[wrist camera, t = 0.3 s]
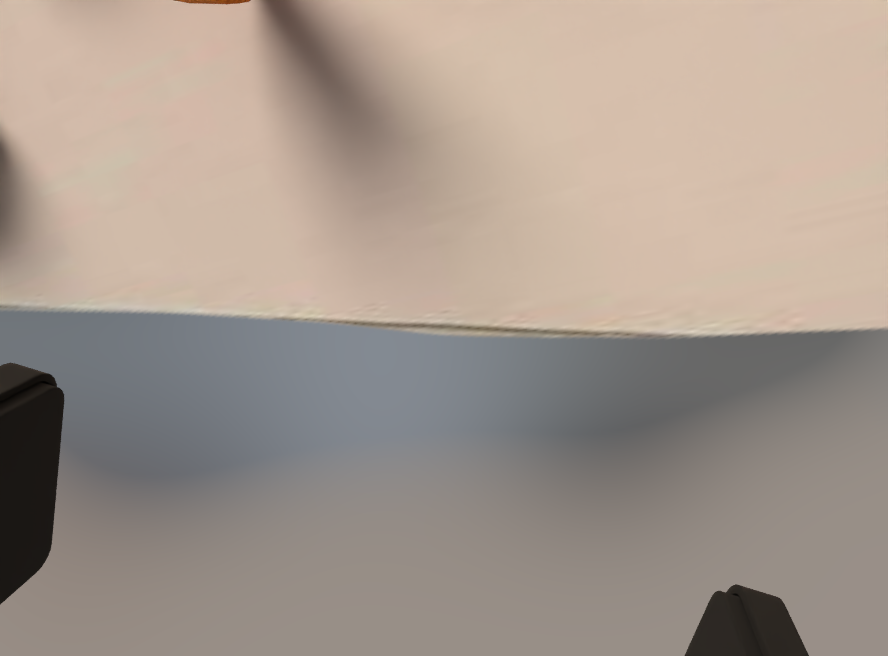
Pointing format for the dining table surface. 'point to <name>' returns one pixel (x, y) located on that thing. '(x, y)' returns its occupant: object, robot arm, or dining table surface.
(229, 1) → the carrot
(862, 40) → the dining table surface
